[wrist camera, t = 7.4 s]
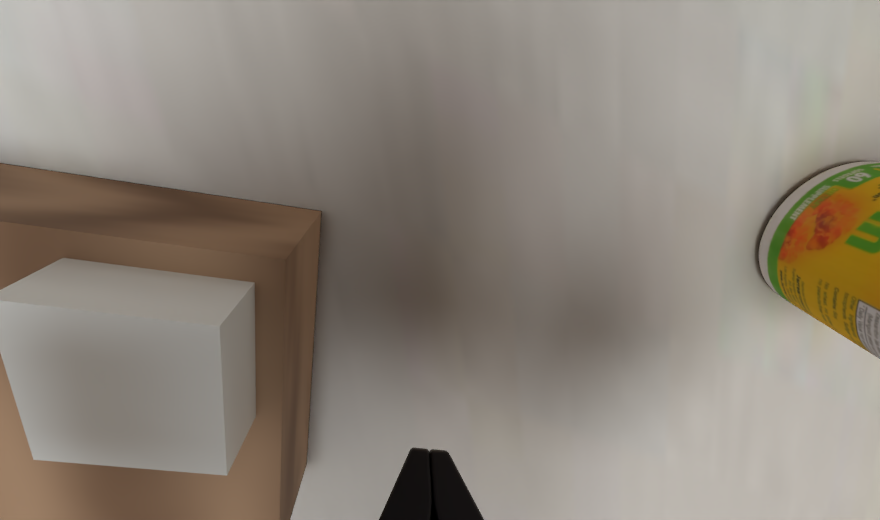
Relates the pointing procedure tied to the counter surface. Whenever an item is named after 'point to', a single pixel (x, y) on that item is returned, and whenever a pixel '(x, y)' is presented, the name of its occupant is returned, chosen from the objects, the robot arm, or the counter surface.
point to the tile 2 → (131, 365)
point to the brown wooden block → (183, 251)
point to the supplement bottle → (830, 251)
